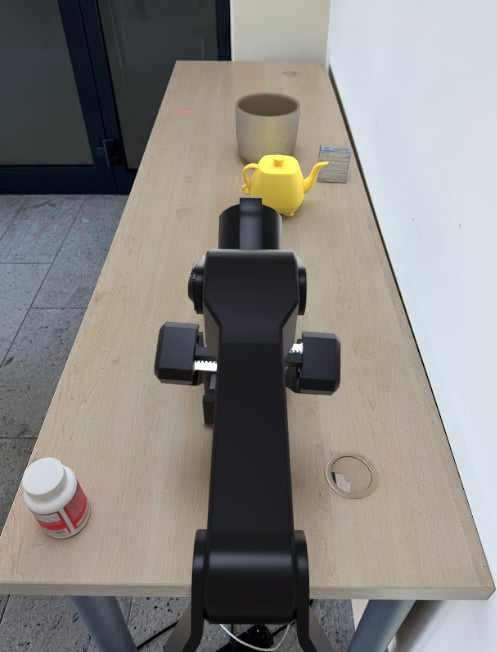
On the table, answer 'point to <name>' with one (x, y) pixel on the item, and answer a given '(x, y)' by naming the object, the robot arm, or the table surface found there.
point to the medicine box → (334, 163)
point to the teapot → (280, 182)
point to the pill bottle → (55, 498)
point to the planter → (266, 125)
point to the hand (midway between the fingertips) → (247, 377)
